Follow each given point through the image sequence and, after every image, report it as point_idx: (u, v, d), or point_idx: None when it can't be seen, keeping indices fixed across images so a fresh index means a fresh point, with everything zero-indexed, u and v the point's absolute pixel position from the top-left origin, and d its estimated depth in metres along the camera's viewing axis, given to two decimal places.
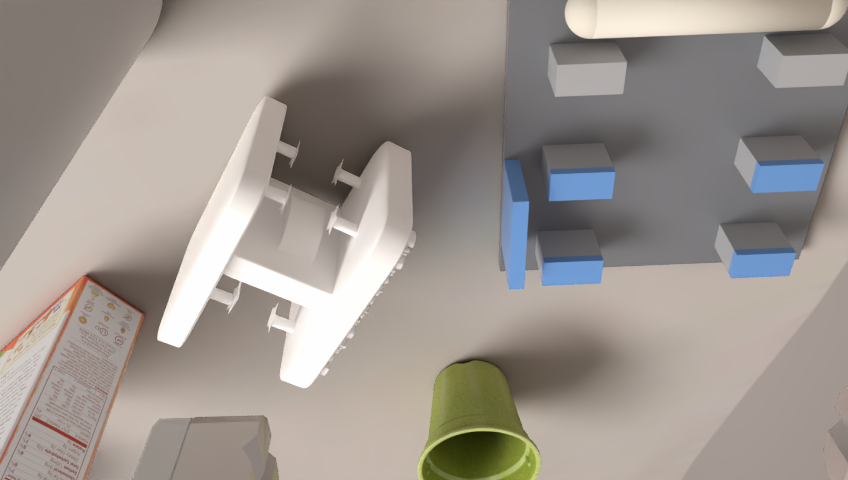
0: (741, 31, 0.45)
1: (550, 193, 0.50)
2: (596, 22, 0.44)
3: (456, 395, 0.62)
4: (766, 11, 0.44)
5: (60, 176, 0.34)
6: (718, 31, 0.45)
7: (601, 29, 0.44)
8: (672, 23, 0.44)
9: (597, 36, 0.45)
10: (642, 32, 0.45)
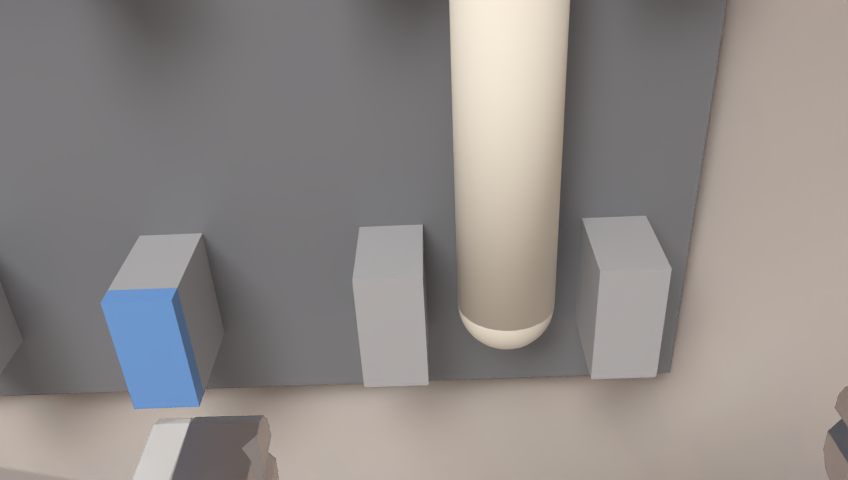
0: (468, 188, 0.22)
1: None
2: None
3: None
4: (519, 225, 0.21)
5: None
6: (471, 143, 0.21)
7: None
8: (501, 39, 0.19)
9: None
10: None
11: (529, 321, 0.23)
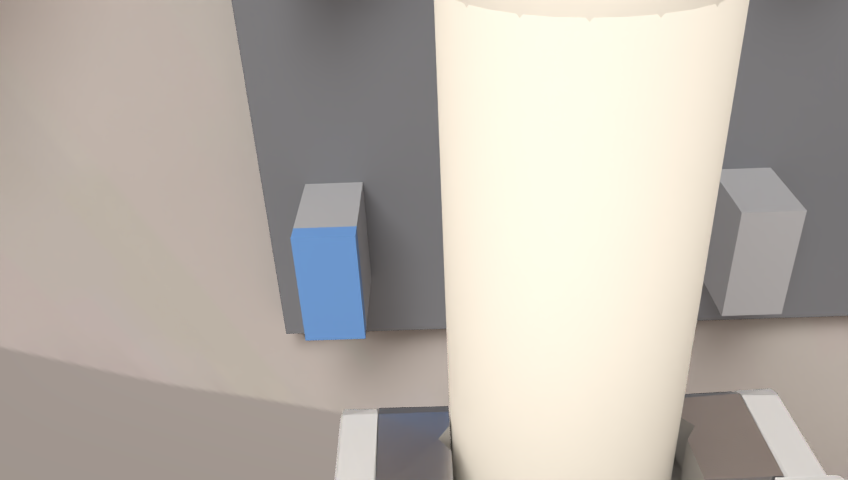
0: None
1: None
2: (621, 17, 0.06)
3: None
4: None
5: None
6: None
7: (557, 55, 0.07)
8: (564, 409, 0.09)
9: (480, 39, 0.07)
10: (510, 282, 0.08)
11: None
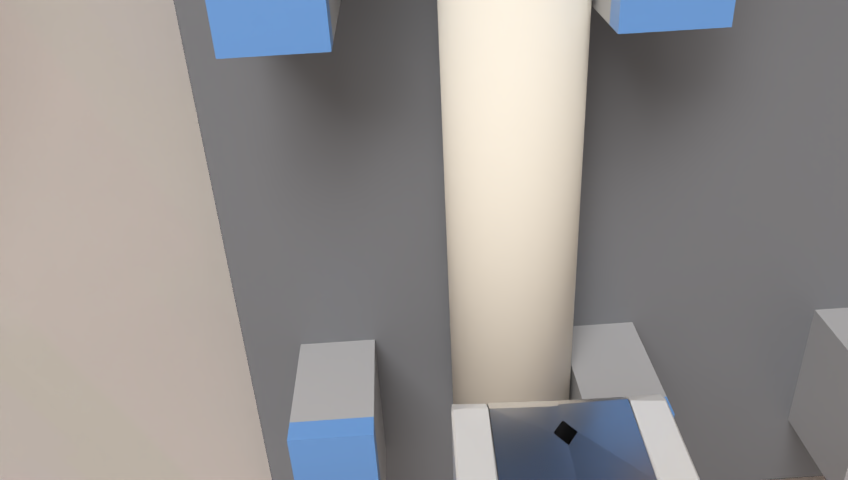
0: (503, 321, 0.18)
1: None
2: None
3: None
4: (561, 340, 0.18)
5: None
6: (510, 269, 0.17)
7: None
8: (553, 141, 0.16)
9: None
10: (523, 70, 0.15)
11: None
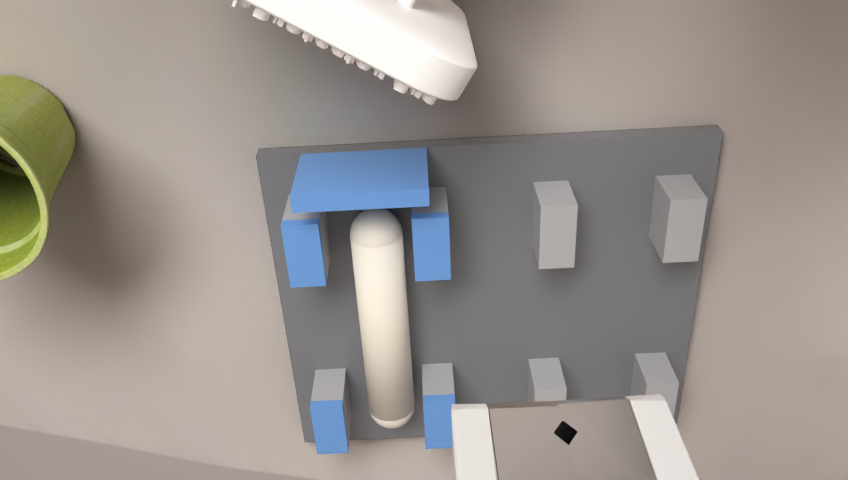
0: (371, 363, 0.48)
1: (422, 219, 0.42)
2: (381, 247, 0.44)
3: (41, 129, 0.40)
4: (396, 376, 0.49)
5: None
6: (372, 346, 0.48)
7: (372, 252, 0.44)
8: (382, 310, 0.46)
9: (360, 250, 0.44)
10: (369, 287, 0.45)
11: (404, 414, 0.51)
